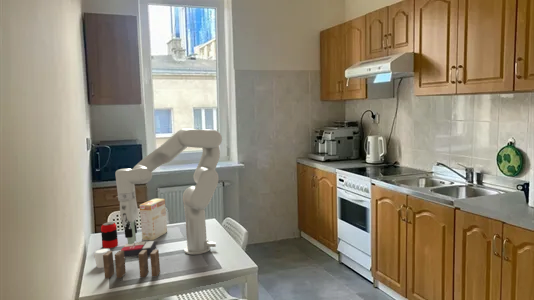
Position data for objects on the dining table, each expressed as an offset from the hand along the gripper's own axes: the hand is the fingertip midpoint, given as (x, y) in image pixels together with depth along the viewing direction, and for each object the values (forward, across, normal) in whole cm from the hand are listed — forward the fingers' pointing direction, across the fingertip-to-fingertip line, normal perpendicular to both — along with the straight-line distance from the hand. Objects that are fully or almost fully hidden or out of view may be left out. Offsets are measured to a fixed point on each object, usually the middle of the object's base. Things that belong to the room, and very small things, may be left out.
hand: (131, 234), depth 188 cm
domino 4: (+14, -14, -9) cm, 21 cm away
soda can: (+14, +26, +22) cm, 36 cm away
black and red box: (+14, +15, +3) cm, 21 cm away
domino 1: (+13, -14, +6) cm, 20 cm away
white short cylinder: (+13, -2, +14) cm, 19 cm away
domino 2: (+13, -14, +1) cm, 19 cm away
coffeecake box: (+14, +40, +3) cm, 43 cm away
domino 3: (+4, 0, 0) cm, 4 cm away
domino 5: (+14, -14, -14) cm, 24 cm away
